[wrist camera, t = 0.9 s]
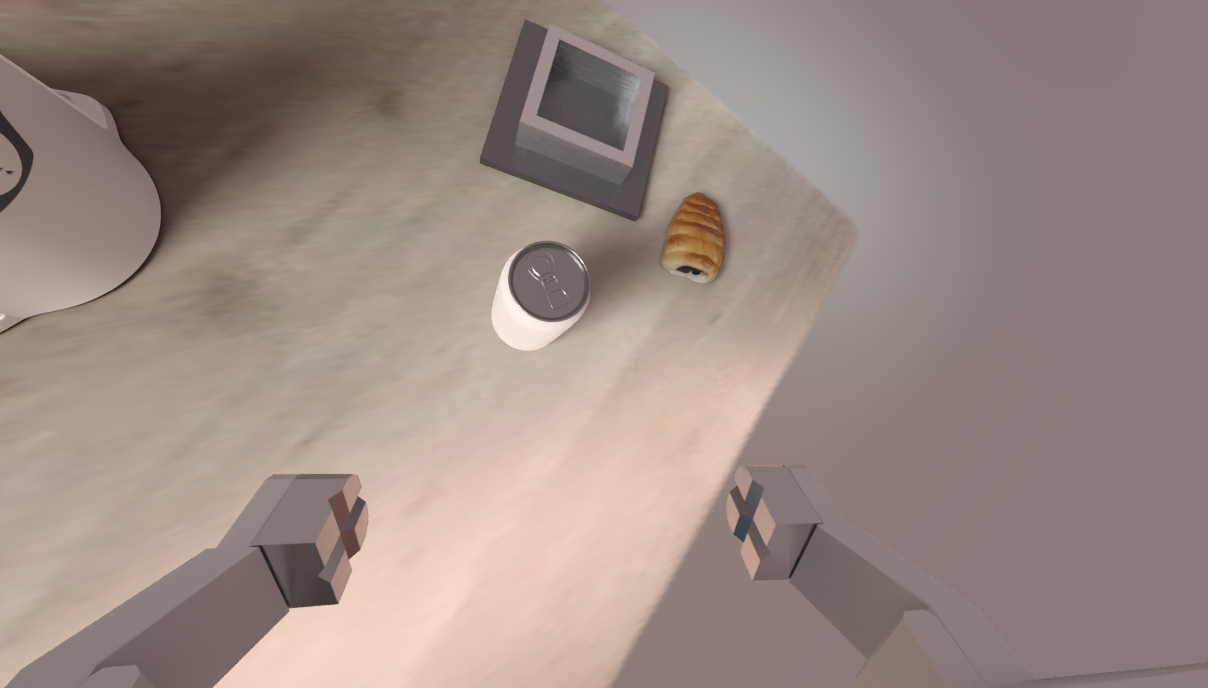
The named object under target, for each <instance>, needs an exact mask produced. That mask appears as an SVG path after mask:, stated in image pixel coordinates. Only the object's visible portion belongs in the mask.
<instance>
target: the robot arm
mask: <svg viewBox="0 0 1208 688" xmlns="http://www.w3.org/2000/svg"><path fill="white" fill-rule="evenodd" d="M160 222H161V206H160V200H159V196H158V193H157V190H156V187H155V185H154V183H153V181H152V179H151V177H150V176H149V174H148V172H147V171H146V170H145V168H144V167H143V166H142V165H141V163H140V162H139V161H138V160H137V159H136V158H135V157H134V156H133V155H132V154H131V153H130V152H129V151H128V150H127V148H126V147H125V146H124V145H123V143H122V142H121V140H120V138H119V134H118V131H117V127H116V124H115V121H114V119H113V116H112V114H111V113H110V111H109V110H108V109H107V108H106V107H105V106H104V105H102V104H101V103H99V102H98V101H96V100H95V99H93V98H92V97H90V96H87V95H83V94H79V93H73V92H68V91H63V90H57V89H52V88H49V87H48V86H46V85H45V84H43V83H42V82H41V81H39V80H38V79H36V78H35V77H33V76H32V75H30V74H29V73H27V72H26V71H24V70H23V69H22V68H20V67H19V66H17V65H16V64H14V63H13V62H11V61H10V60H8V59H7V58H5V57H4V56H2V55H1V54H0V332H2V331H4V330H6V329H7V328H9V327H11V326H13V325H14V324H16V323H18V322H19V321H21V320H23V319H25V318H28V317H31V316H34V315H38V314H42V313H46V312H51V311H56V310H61V309H65V308H69V307H73V306H76V305H79V304H82V303H85V302H88V301H90V300H93V299H95V298H97V297H99V296H101V295H103V294H105V293H107V292H109V291H110V290H112V289H114V288H115V287H117V286H118V285H120V284H121V283H122V282H124V281H125V280H126V279H128V278H129V277H130V276H131V275H132V274H133V273H134V272H135V271H136V270H137V269H138V268H139V267H140V266H141V265H142V263H143V262H144V261H145V260H146V258H147V257H148V255H149V254H150V252H151V250H152V248H153V246H154V244H155V242H156V239H157V236H158V233H159V229H160ZM734 479H735V481H736V483H737V486H736V487H735V488H734V489H732V490H731V491H730V493H729V496H728V499H727V517H728V521H729V525H730V528H731V530H732V533H733V534H734V535H735V536H736V537H737V538H738V539H740V540H741V541H742V542H743V546H742V549H741V554H742V557H743V559H744V562H745V564H746V566H747V569H748V571H749V574H750V576H751V578H752V580H788V579H790V583H791V584H792V585H793V586H794V587H795V588H796V589H797V590H798V591H799V592H800V593H801V594H802V595H803V596H804V597H805V598H806V599H807V600H808V601H809V602H810V603H811V604H812V605H813V606H814V607H815V608H816V609H817V610H818V611H819V612H820V613H821V614H822V615H823V616H824V617H825V618H826V619H827V620H828V621H829V622H830V623H831V624H832V625H833V626H834V627H835V628H836V629H837V630H838V631H839V632H840V633H841V634H842V635H843V636H844V637H845V638H846V639H847V640H848V641H849V642H850V643H851V644H852V645H853V646H854V647H855V648H856V649H857V650H858V651H859V652H860V653H861V654H862V655H863V656H864V657H865V658H866V659H867V661H866V663H865V664H864V665H863V667H862V668H861V669H860V671H859V672H858V673H857V675H856V677H855V679H854V682H853V684H854V686H855V688H1208V662H1205V663H1196V664H1186V665H1177V666H1167V667H1157V668H1147V669H1136V670H1126V671H1116V672H1106V673H1095V674H1086V675H1075V676H1064V677H1054V678H1044V679H1035V678H1034V677H1033V676H1032V675H1031V673H1030V672H1029V671H1028V670H1027V668H1026V667H1025V666H1024V665H1023V664H1022V662H1021V661H1020V660H1019V659H1018V658H1017V656H1016V655H1015V654H1014V653H1013V651H1012V650H1011V649H1010V648H1009V646H1008V645H1007V644H1006V643H1005V642H1004V640H1003V639H1002V638H1001V637H1000V635H999V634H998V633H997V632H996V631H995V630H994V628H993V627H992V626H991V624H990V623H989V622H988V621H987V620H986V618H985V617H984V616H983V615H982V613H981V612H980V611H979V610H978V609H977V607H976V606H975V605H974V604H973V603H971V602H970V601H968V600H967V599H965V598H964V597H962V596H961V595H959V594H958V593H957V592H955V591H953V590H952V589H951V588H949V587H948V586H946V585H945V584H943V583H942V582H940V581H939V580H937V579H936V578H934V577H932V576H931V575H929V574H928V573H927V572H925V571H924V570H922V569H921V568H919V567H918V566H916V565H915V564H913V563H911V562H910V561H909V560H907V559H906V558H904V557H903V556H901V555H900V554H898V553H897V552H896V551H894V550H893V549H891V548H890V547H888V546H887V545H885V544H884V543H882V542H880V541H879V540H877V539H876V538H875V537H873V536H872V535H870V534H869V533H867V532H866V531H864V530H863V529H861V528H860V527H858V526H857V525H855V524H854V523H846V521H845V520H844V518H843V517H842V516H841V514H840V512H839V511H838V509H837V508H836V507H835V505H834V504H833V502H832V501H831V499H830V498H829V497H828V495H827V493H826V492H825V491H824V489H823V488H822V486H821V485H820V483H819V482H818V480H817V479H816V478H815V476H814V475H813V473H812V472H811V470H810V469H809V468H808V467H807V466H805V465H804V464H794V465H758V466H740V467H739V468H738V469H737V471H736V474H735V477H734ZM361 488H362V486H361V483H360V480H359V477H358V475H355V474H274V475H272V476H271V477H269V478H267V479H266V480H265V481H264V482H263V484H262V485H261V486H260V488H259V489H258V491H257V492H256V493H255V495H254V496H253V498H252V499H251V500H250V502H249V503H248V505H247V506H246V507H245V509H244V510H243V511H242V513H241V514H240V516H239V517H238V518H237V520H236V521H235V523H234V524H233V525H232V527H231V528H230V529H229V531H228V532H227V534H226V535H225V536H224V538H223V539H222V541H221V542H220V543H219V545H218V546H217V548H212V549H206V550H204V551H203V552H201V553H200V554H198V555H197V556H195V557H193V558H192V559H190V560H189V561H187V562H186V563H184V564H183V565H181V566H180V567H178V568H177V569H175V570H173V571H172V572H170V573H169V574H167V575H166V576H164V577H163V578H161V579H160V580H158V581H157V582H155V583H154V584H152V585H150V586H149V587H147V588H146V589H144V590H143V591H141V592H140V593H138V594H137V595H135V596H134V597H132V598H130V599H129V600H127V601H126V602H124V603H123V604H121V605H120V606H118V607H117V608H115V609H114V610H112V611H110V612H109V613H107V614H106V615H104V616H103V617H101V618H100V619H98V620H97V621H95V622H94V623H92V624H91V625H89V626H87V627H86V628H84V629H83V630H81V631H80V632H78V633H77V634H75V635H74V636H72V637H71V638H69V639H67V640H66V641H64V642H63V643H61V644H60V645H58V646H57V647H55V648H54V649H52V650H51V651H49V652H48V653H46V654H44V655H43V656H41V657H40V658H38V659H37V660H35V661H34V662H32V663H31V664H29V665H28V666H26V667H24V668H23V669H21V670H20V671H19V672H18V674H17V675H16V676H15V677H14V678H13V679H12V680H11V681H10V682H9V684H8V685H7V686H6V687H5V688H213V687H214V686H215V685H216V684H217V683H218V682H219V681H220V680H221V679H222V678H223V677H224V676H225V675H226V674H227V673H228V672H229V671H230V670H231V669H232V668H233V667H234V666H235V665H236V664H237V663H238V662H239V661H240V660H241V659H242V658H243V657H244V656H245V655H246V654H247V653H248V652H249V651H250V650H251V649H252V648H253V647H254V646H255V645H256V644H257V643H258V642H259V641H260V640H261V639H262V638H263V637H264V636H265V635H266V634H267V633H268V632H269V631H270V630H271V629H272V628H273V627H274V626H275V625H276V624H277V623H278V622H279V621H280V620H281V619H282V618H283V617H284V616H285V615H286V614H287V613H288V612H289V609H288V608H298V607H310V606H322V605H334V604H339V601H340V599H341V596H342V594H343V591H344V589H345V587H346V584H347V582H348V579H349V577H350V574H351V572H352V569H351V566H350V563H349V559H350V558H351V557H352V556H354V555H355V554H356V553H357V552H358V551H359V550H361V547H362V544H363V542H364V539H365V536H366V531H367V526H368V508H367V504H366V502H365V501H364V500H362V499H361V498H360V497H358V494H359V492H360V490H361Z"/></svg>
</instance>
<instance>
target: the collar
mask: <svg viewBox="0 0 1208 688" xmlns="http://www.w3.org/2000/svg"><path fill="white" fill-rule="evenodd" d="M654 75H655V72H653V71H650V70H648V69H646V68H644V67H642V66H640V65H638V64H636V63H634V62H631V61H629V60H627V59H625V58H623V57H621V56H619V55H617V54H615V53H612V52H610V51H608V50H606V49H604V48H602V47H600V46H598V45H596V44H593V43H591V42H589V41H587V40H585V39H583V38H581V37H579V36H577V35H574V34H572V33H570V32H568V31H566V30H564V29H562V28H560V27H558V26H556V25H553V24H551V23H550V25H549V28H548V30H547V29H544V28H542V27H540V26H538V25H536V24H534V23H532V22H529V21H527V20H525V22H524V25H523V28H522V31H521V34H520V37H519V40H518V43H517V46H516V49H515V52H514V55H513V58H512V62H511V65H510V68H509V71H508V74H507V77H506V80H505V83H504V86H503V89H502V92H501V95H500V98H499V101H498V105H497V108H496V111H495V114H494V117H493V120H492V123H491V126H490V129H489V132H488V135H487V138H486V141H485V144H484V147H483V151H482V154H481V157H480V163H481V164H484V165H486V166H489V167H492V168H494V169H497V170H500V171H502V172H505V173H508V174H510V175H513V176H516V177H518V178H521V179H524V180H526V181H529V182H532V183H534V184H537V185H540V186H542V187H545V188H548V189H550V190H553V191H556V192H558V193H561V194H564V195H566V196H569V197H572V198H574V199H577V200H580V201H582V202H585V203H588V204H590V205H593V206H596V207H598V208H601V209H604V210H606V211H609V212H612V213H614V214H617V215H620V216H622V217H625V218H628V219H630V220H633V221H635V220H636V219H637V218H638V216H639V211H640V207H641V203H642V198H643V194H644V190H645V185H646V181H647V176H648V172H649V168H650V163H651V159H652V155H653V150H654V146H655V142H656V137H657V133H658V128H659V124H660V120H661V115H662V111H663V107H664V102H665V98H666V94H667V89H668V86H666V85H664V84H662V83H659V82H657V81H655V80H653V79H654Z"/></svg>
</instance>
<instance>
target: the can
mask: <svg viewBox="0 0 1208 688" xmlns="http://www.w3.org/2000/svg"><path fill="white" fill-rule="evenodd" d="M590 290H591V279H590V274H589V271H588V268H587V266H586V264H585V262H584V261H583V259H582V258H581V257H580V256H579V255H578V254H577V253H576V252H575V251H574V250H573V249H571V248H570V247H568V246H566V245H564V244H561V243H558V242H553V241H540V242H535V243H532V244H530V245H528V246H526V247H524V248H522V249H520V250H519V251H517V252H516V253H515V254H514V255H512V256H511V258H510V259H509V260H508V261H507V263H506V264H505V266H504V268H503V271H502V273H501V276H500V280H499V283H498V287H497V290H496V294H495V298H494V302H493V306H492V323H493V326H494V329H495V331H496V333H497V334H498V336H499V337H500V338H501V339H502V340H503V341H504V342H505V343H506V344H508V345H509V346H511V347H513V348H516V349H519V350H526V351H531V350H537V349H540V348H543V347H545V346H546V345H548V344H549V343H551V342H552V341H554V340H555V339H556V338H557V337H559V336H560V335H561V334H562V333H564V332H565V331H566V330H567V329H569V328H570V327H571V326H572V325H573V324H575V323H576V322H577V321H578V320H579V319H580V317H581V316H582V315H583V313H584V312H585V310H586V308H587V306H588V303H589V299H590Z"/></svg>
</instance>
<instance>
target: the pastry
mask: <svg viewBox="0 0 1208 688" xmlns="http://www.w3.org/2000/svg"><path fill="white" fill-rule="evenodd" d="M666 232H667V236H666V240H665V243H664V245H663V249H662V255H661V259H660V264H661V266H662V268H663V269H664V270H667V271H668V273H670V274H673V275H675V276H680V277H687V278H689V279H691V280H692V281H694V282H697V283H701V284H704V283H709V282H711V281H713V280H715V279H716V278H717V274H718V272H719V269H720V266H721V264H722V262H723V259H724V252H723V250H724V244H725V241H724V233H723V226H722V224H721V218H720V213H719V211H718V206H717V205H716V204H715V203H714V202H713V201H712V200H710V199H708V198H707V197H704V196H703V195H702V194H701V193H694V194H692V195H690V196H688V197H686V198H684V200H683V201H682V203H681V205H680V207H679V208H678V209H677V210H676V211H675V214H674V216H673V218H672V220H671V222H670V224H669V225H668V227H667V231H666Z"/></svg>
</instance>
